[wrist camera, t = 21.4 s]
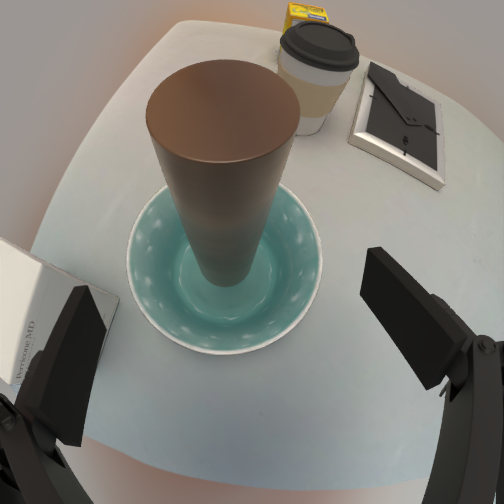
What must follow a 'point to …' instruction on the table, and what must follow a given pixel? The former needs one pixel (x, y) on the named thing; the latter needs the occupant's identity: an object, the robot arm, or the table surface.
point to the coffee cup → (316, 69)
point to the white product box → (34, 306)
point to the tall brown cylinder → (223, 156)
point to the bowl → (224, 298)
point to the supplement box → (303, 15)
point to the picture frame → (400, 126)
